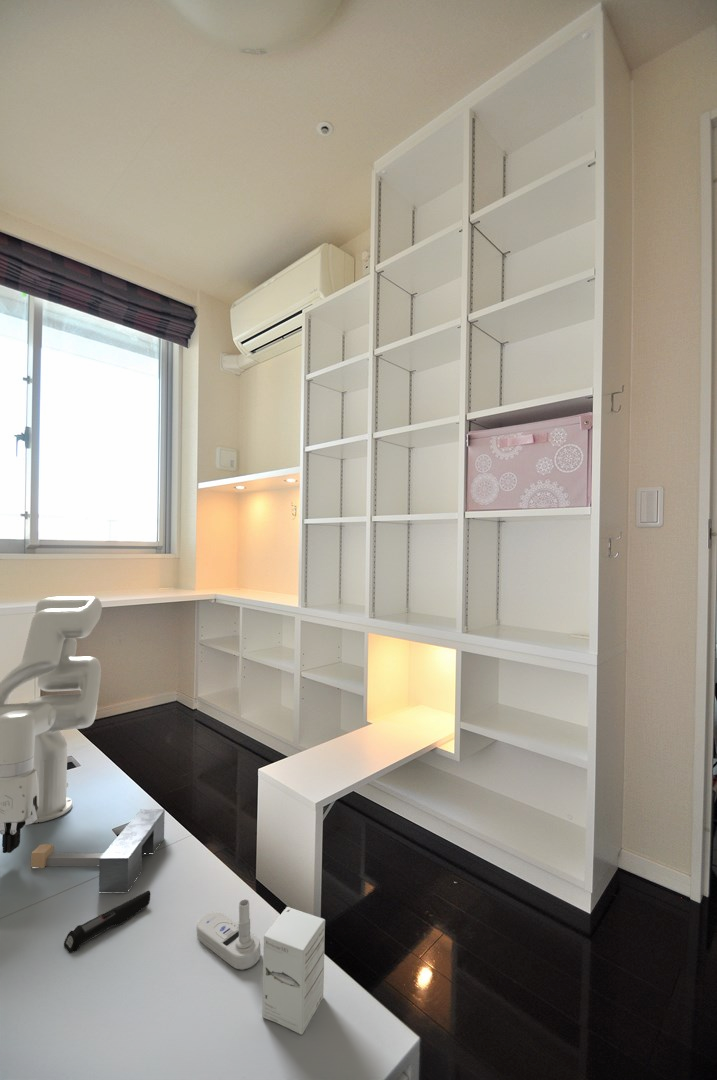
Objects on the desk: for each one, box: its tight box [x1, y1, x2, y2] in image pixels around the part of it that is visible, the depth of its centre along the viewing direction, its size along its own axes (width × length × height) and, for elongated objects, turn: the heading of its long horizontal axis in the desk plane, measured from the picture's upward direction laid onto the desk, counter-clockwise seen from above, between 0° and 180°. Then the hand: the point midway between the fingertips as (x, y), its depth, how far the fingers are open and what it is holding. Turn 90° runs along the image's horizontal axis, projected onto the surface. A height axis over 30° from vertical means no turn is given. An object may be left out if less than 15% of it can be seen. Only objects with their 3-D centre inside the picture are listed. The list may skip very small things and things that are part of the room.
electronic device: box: [196, 899, 261, 970], centre depth 90 cm, size 5×10×15 cm
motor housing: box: [98, 808, 166, 893], centre depth 114 cm, size 6×20×7 cm, turn 0°
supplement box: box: [261, 906, 326, 1036], centre depth 78 cm, size 7×7×13 cm
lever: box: [30, 843, 104, 869], centre depth 114 cm, size 22×4×4 cm, turn 90°
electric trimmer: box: [63, 890, 151, 954], centre depth 95 cm, size 4×16×3 cm, turn 141°
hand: (10, 849), depth 113 cm, fingers closed
